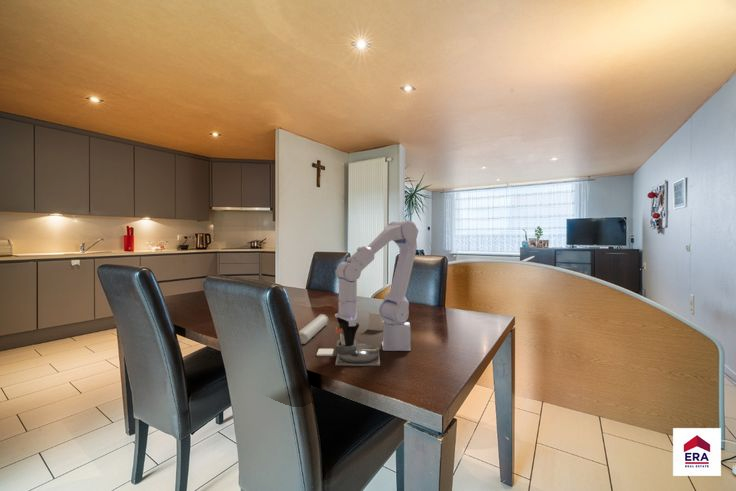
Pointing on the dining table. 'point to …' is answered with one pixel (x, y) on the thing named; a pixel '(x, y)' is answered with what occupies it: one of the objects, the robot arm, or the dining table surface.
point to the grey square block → (375, 322)
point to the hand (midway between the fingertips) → (347, 342)
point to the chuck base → (371, 363)
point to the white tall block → (341, 335)
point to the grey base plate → (357, 352)
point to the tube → (313, 328)
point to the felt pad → (325, 352)
